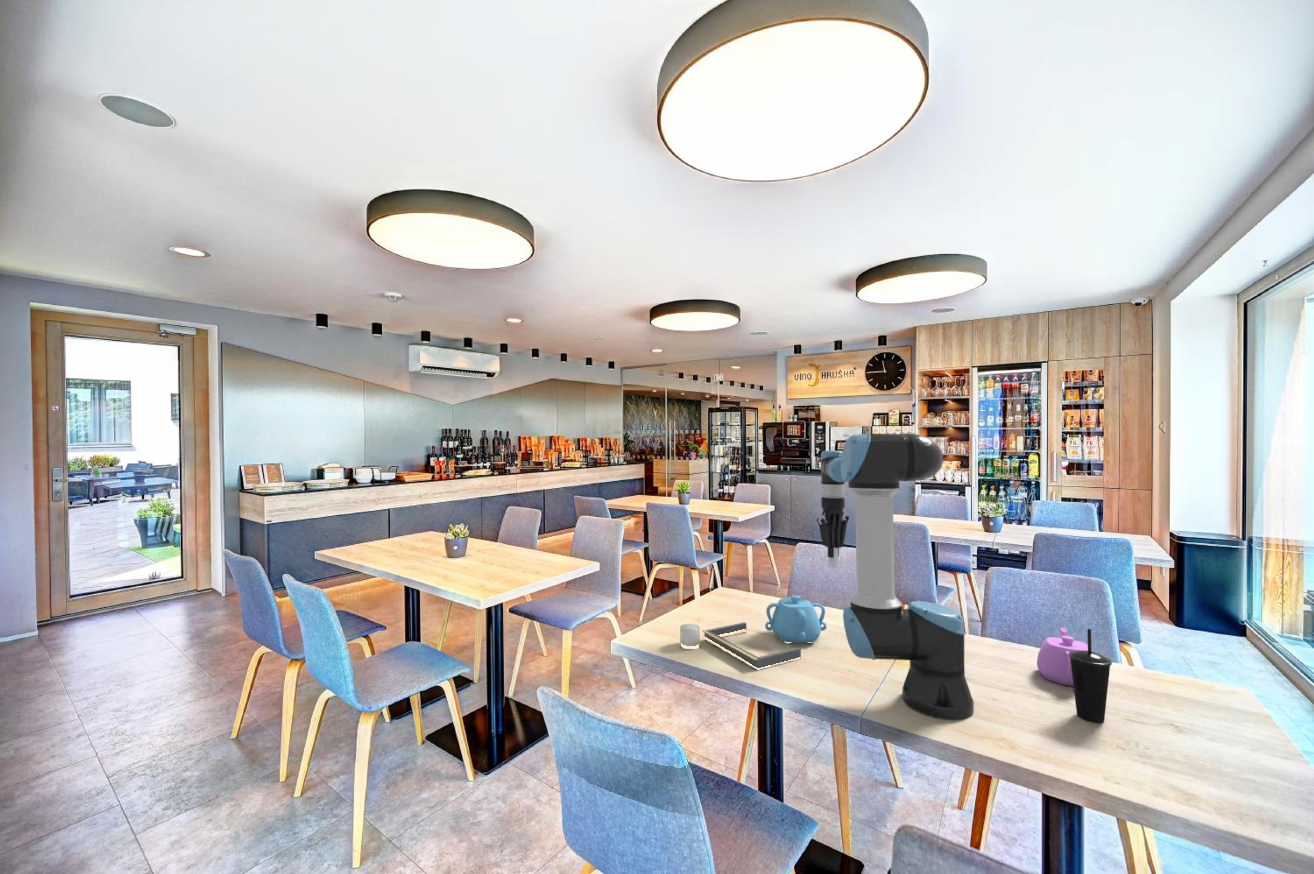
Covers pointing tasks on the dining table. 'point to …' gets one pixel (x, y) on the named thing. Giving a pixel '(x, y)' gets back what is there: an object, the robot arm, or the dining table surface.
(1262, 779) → the dining table surface
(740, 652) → the grey piece
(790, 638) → the decorative pot
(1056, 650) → the teapot
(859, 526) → the robot arm
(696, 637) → the white rounded cylinder
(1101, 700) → the drinking cup
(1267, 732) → the dining table surface
